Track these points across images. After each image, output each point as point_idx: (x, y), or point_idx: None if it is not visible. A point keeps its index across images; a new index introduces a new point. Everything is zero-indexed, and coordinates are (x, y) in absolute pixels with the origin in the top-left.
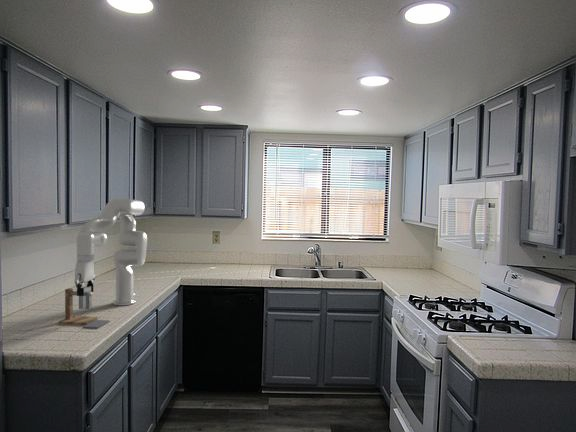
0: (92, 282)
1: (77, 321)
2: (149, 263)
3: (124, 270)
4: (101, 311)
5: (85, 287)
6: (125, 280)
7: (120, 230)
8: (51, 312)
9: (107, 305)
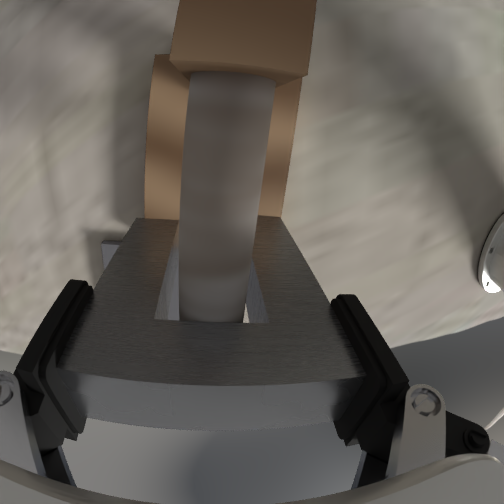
0: (359, 466)
1: (162, 176)
2: None
3: None
4: (427, 199)
5: (198, 415)
6: None
7: None
8: None
9: (498, 192)
